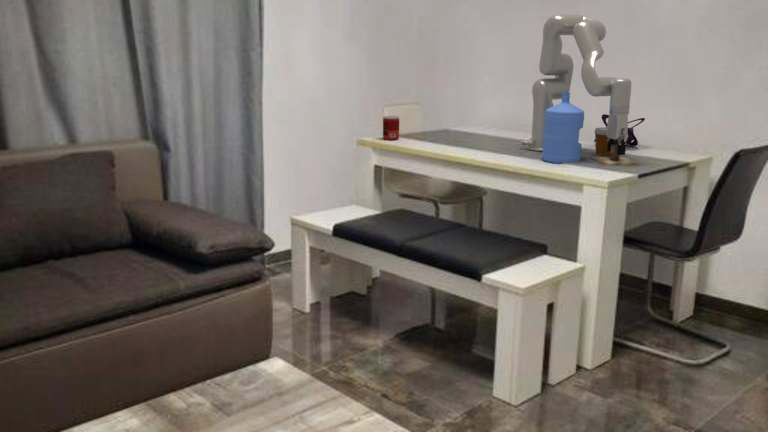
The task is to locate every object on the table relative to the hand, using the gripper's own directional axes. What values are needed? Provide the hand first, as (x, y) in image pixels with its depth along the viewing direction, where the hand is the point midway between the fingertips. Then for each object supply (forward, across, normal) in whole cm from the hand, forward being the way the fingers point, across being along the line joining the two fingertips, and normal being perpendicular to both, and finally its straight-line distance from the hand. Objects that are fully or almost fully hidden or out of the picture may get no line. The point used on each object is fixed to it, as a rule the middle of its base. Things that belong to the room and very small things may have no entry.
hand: (615, 153), depth 292 cm
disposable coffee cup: (+5, -18, +3) cm, 19 cm away
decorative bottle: (+4, -45, +21) cm, 50 cm away
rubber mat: (+5, 0, 0) cm, 5 cm away
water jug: (+5, -9, -19) cm, 22 cm away
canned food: (+4, -70, -83) cm, 109 cm away
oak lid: (+4, 0, 0) cm, 4 cm away
